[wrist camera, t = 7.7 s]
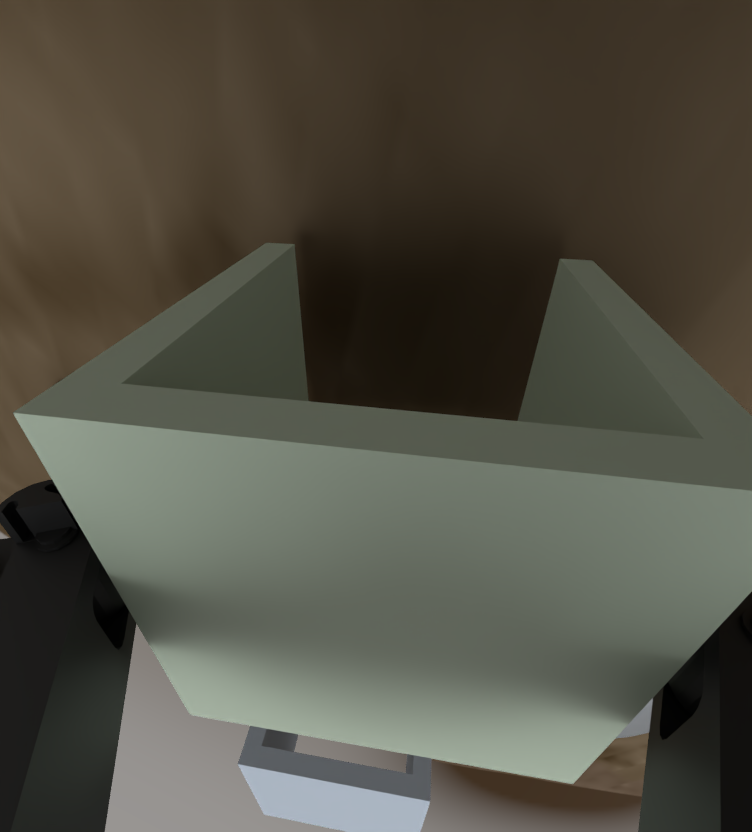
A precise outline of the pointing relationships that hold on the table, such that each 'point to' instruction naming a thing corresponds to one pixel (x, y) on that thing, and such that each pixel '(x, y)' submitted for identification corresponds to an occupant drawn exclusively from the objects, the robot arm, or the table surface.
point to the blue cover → (333, 787)
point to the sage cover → (409, 526)
